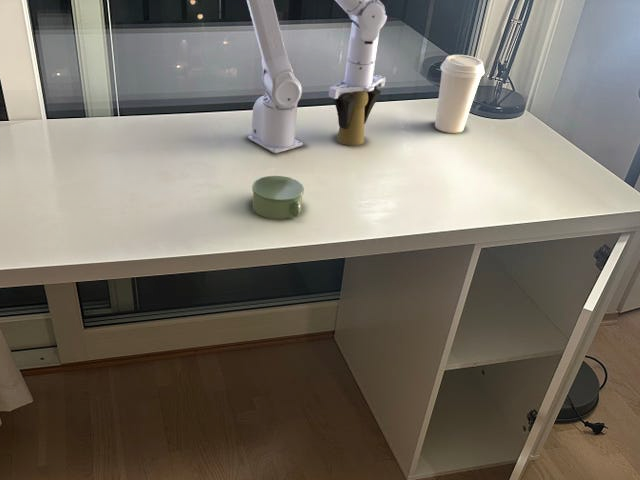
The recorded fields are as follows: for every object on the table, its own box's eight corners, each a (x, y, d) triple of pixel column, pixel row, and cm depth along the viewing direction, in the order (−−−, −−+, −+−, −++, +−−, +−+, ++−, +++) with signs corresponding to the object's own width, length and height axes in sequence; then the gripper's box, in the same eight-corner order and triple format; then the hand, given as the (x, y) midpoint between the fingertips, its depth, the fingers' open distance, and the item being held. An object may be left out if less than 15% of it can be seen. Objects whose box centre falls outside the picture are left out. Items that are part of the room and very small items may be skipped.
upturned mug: (241, 203, 131) (241, 183, 128) (280, 190, 135) (281, 171, 133) (276, 227, 125) (278, 207, 122) (316, 213, 129) (318, 193, 127)
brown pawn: (362, 147, 153) (370, 96, 145) (335, 143, 153) (341, 93, 146) (364, 136, 157) (372, 86, 150) (338, 133, 158) (344, 83, 151)
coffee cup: (423, 119, 166) (436, 53, 157) (462, 119, 167) (477, 53, 158) (435, 135, 159) (450, 67, 149) (475, 135, 160) (493, 67, 150)
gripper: (348, 72, 138) (340, 138, 147) (399, 60, 145) (388, 124, 154) (324, 61, 142) (317, 127, 151) (375, 50, 149) (366, 113, 158)
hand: (352, 125), depth 153 cm, fingers closed on brown pawn, 5 cm apart
